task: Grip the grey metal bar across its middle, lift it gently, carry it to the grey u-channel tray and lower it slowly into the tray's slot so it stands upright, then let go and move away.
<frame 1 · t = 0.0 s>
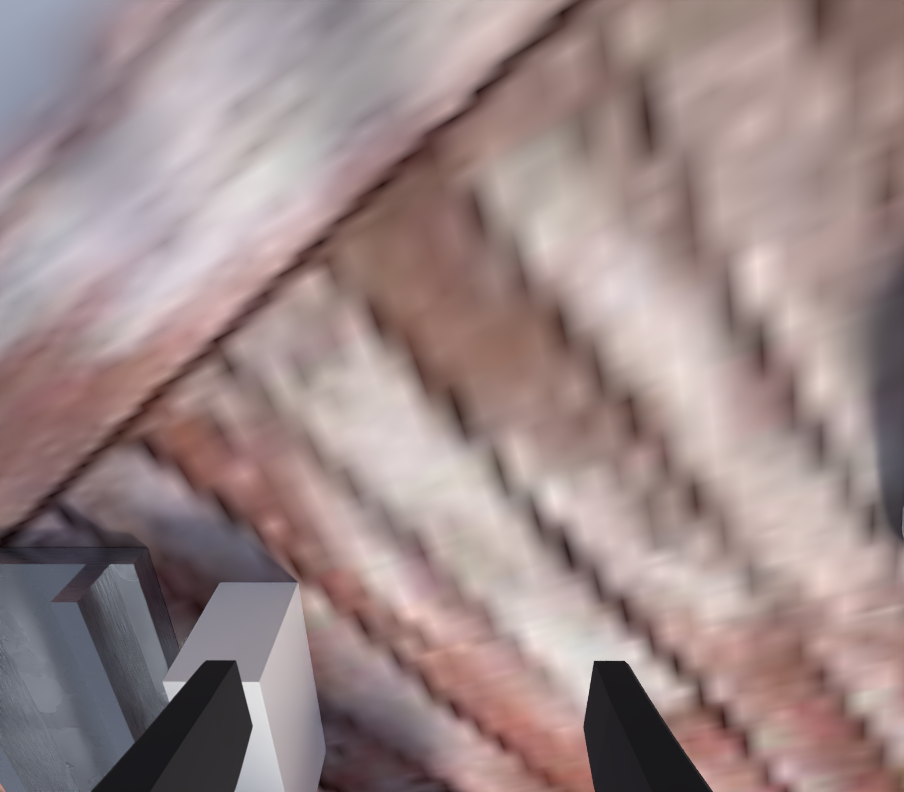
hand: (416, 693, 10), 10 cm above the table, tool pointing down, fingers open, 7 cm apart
grey metal bar: (279, 670, 25), on the table
grey u-channel tray: (102, 688, 25), on the table
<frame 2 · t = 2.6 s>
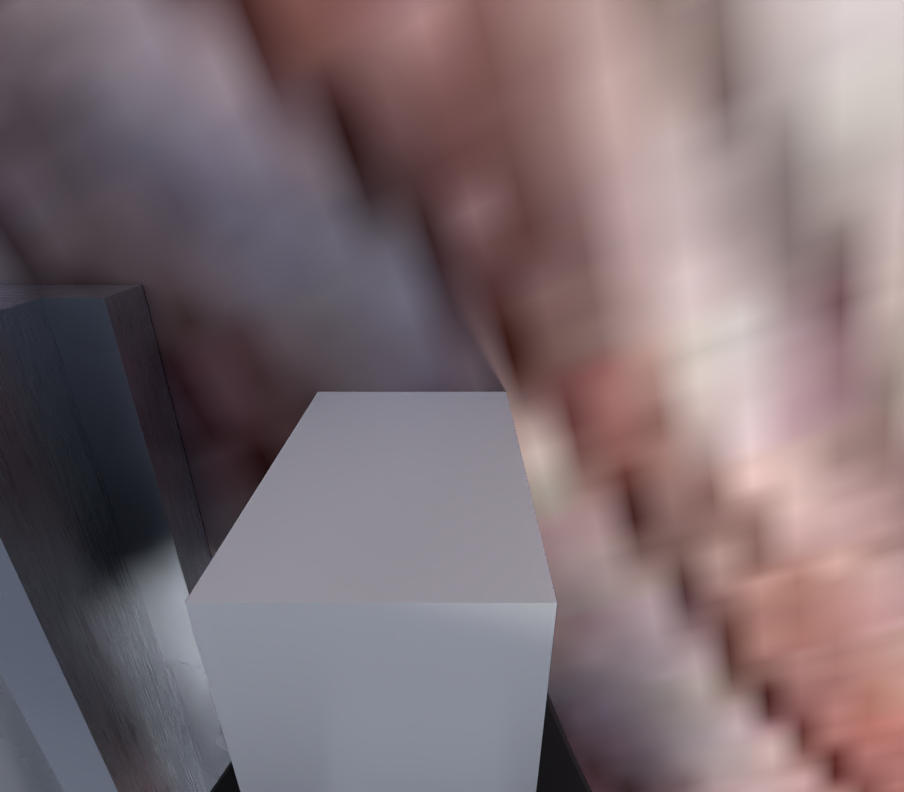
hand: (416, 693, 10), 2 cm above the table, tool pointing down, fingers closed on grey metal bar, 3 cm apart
grey metal bar: (421, 626, 12), on the table, touching gripper
grey u-channel tray: (51, 657, 12), on the table
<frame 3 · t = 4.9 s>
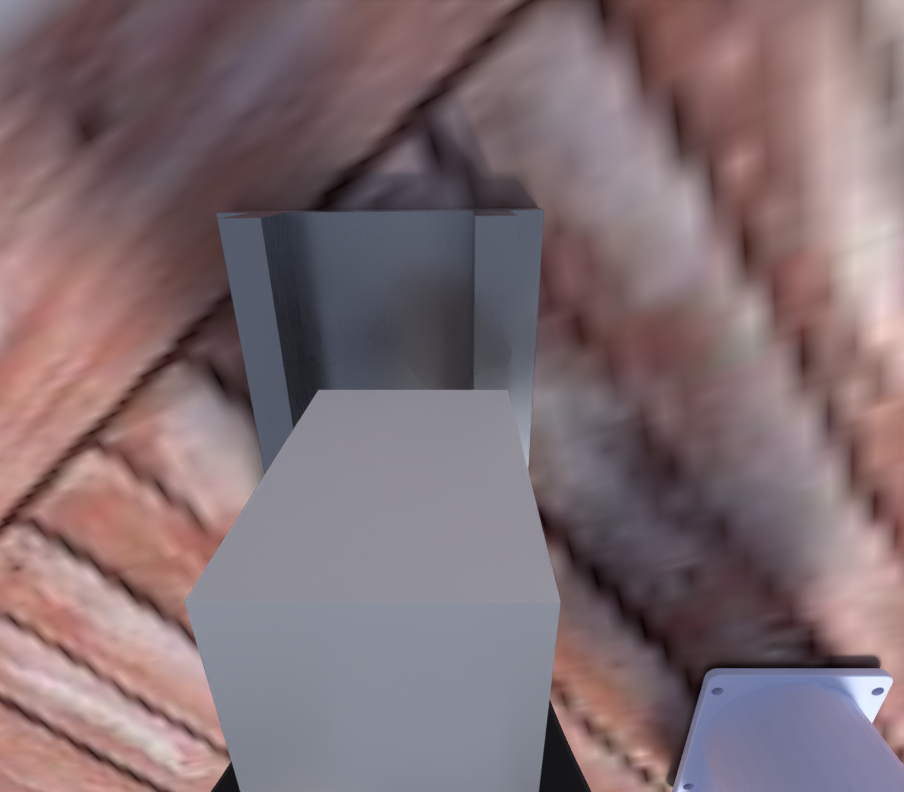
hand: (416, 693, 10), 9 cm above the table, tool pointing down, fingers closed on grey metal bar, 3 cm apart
grey metal bar: (421, 625, 12), point 7 cm above the table, touching gripper
grey u-channel tray: (400, 472, 18), on the table
when the fingers open (4 cm above the table, at t = 7.2 s): grey metal bar drops 1 cm, resting on grey u-channel tray.
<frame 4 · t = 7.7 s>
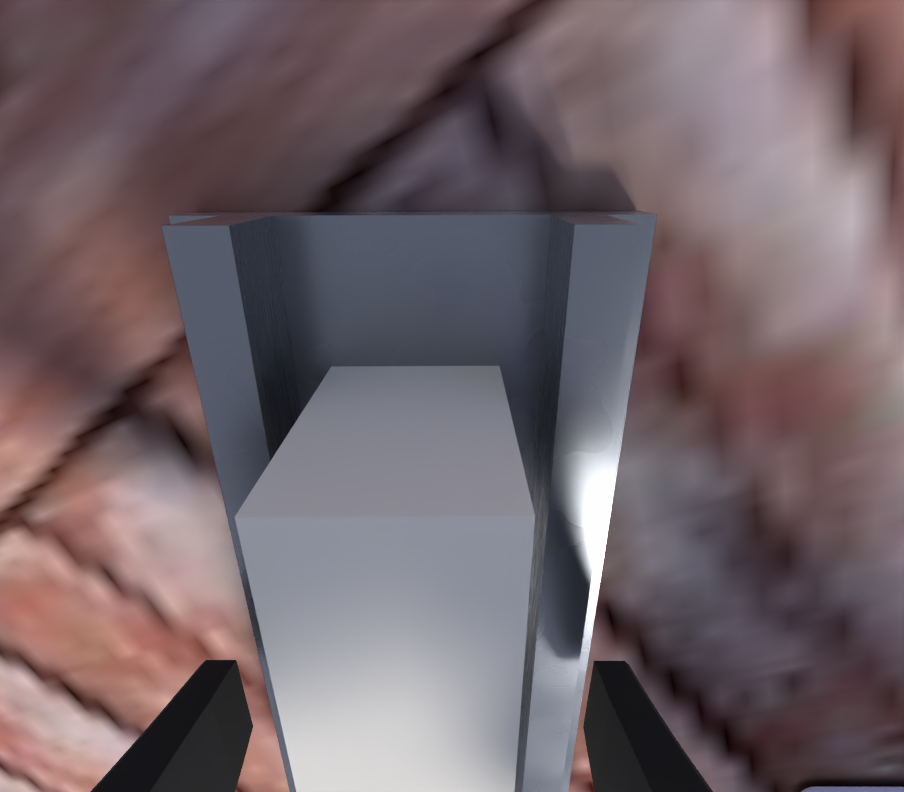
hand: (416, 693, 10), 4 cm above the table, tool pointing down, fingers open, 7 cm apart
grey metal bar: (423, 585, 13), point 1 cm above the table, touching grey u-channel tray
grey u-channel tray: (426, 559, 14), on the table
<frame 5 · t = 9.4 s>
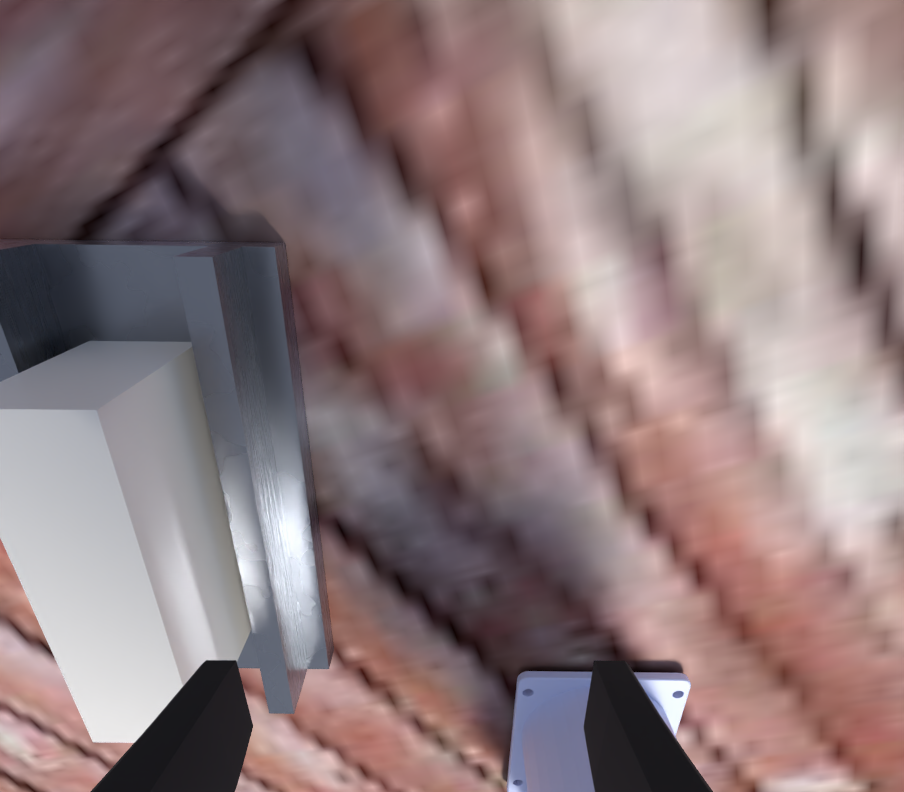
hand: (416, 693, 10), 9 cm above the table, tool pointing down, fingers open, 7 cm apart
grey metal bar: (184, 497, 18), point 1 cm above the table, touching grey u-channel tray
grey u-channel tray: (197, 483, 19), on the table
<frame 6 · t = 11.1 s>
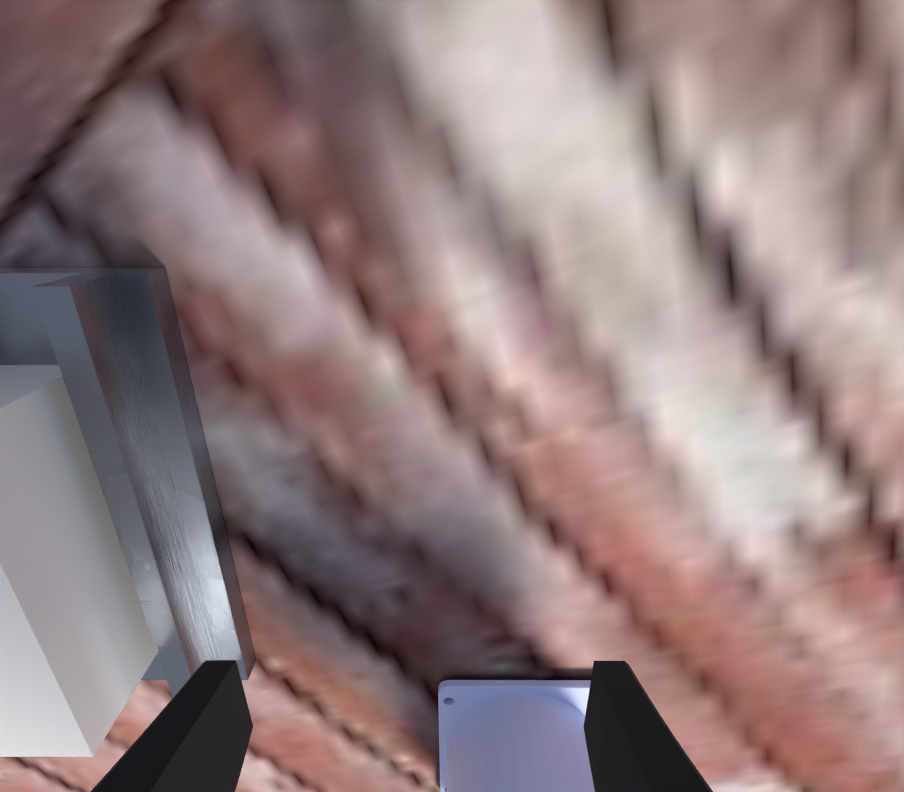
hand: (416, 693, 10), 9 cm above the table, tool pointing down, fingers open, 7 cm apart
grey metal bar: (87, 515, 19), point 1 cm above the table, touching grey u-channel tray
grey u-channel tray: (105, 500, 20), on the table
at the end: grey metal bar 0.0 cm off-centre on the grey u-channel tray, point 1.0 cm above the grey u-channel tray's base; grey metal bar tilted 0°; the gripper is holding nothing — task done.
